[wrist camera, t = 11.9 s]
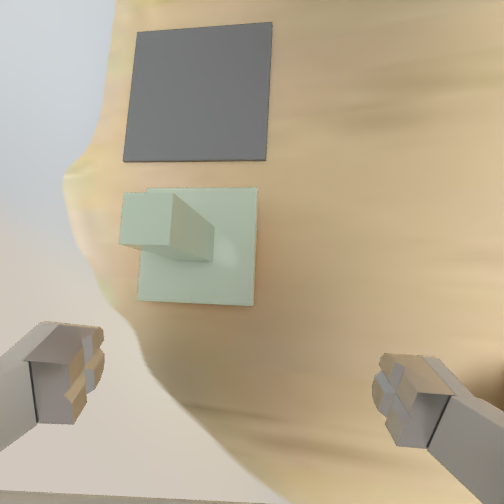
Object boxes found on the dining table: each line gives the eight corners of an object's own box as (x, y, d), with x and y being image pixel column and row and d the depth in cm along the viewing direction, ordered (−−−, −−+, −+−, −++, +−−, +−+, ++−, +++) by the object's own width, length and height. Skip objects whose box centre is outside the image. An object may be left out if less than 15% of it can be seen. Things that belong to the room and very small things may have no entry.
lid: (151, 191, 28) (76, 137, 18) (258, 191, 27) (237, 132, 17) (142, 300, 27) (55, 303, 17) (253, 305, 26) (227, 313, 16)
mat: (138, 35, 36) (137, 32, 36) (272, 25, 34) (272, 21, 34) (124, 162, 34) (122, 160, 34) (265, 160, 32) (265, 159, 32)
